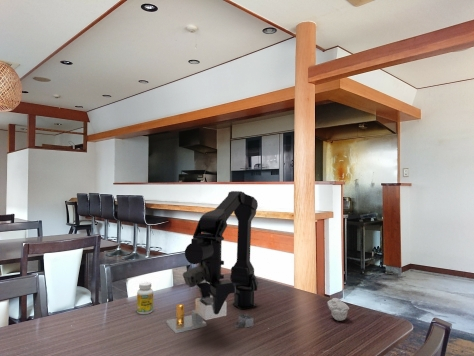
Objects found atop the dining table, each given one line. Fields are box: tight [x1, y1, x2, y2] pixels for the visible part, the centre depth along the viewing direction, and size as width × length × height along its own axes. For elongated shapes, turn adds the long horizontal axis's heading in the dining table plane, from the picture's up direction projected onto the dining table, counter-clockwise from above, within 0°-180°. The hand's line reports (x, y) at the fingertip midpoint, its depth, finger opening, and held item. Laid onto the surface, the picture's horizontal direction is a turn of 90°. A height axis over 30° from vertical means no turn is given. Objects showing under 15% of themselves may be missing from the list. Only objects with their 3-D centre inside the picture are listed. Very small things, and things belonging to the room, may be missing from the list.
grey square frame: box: [194, 295, 228, 321], centre depth 100 cm, size 7×7×4 cm
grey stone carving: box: [327, 297, 350, 322], centre depth 111 cm, size 6×7×7 cm
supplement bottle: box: [136, 281, 154, 315], centre depth 116 cm, size 5×5×10 cm
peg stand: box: [165, 303, 207, 334], centre depth 106 cm, size 10×8×6 cm
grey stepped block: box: [233, 313, 255, 328], centre depth 106 cm, size 6×4×3 cm
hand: (210, 310), depth 100 cm, fingers closed on grey square frame, 7 cm apart
